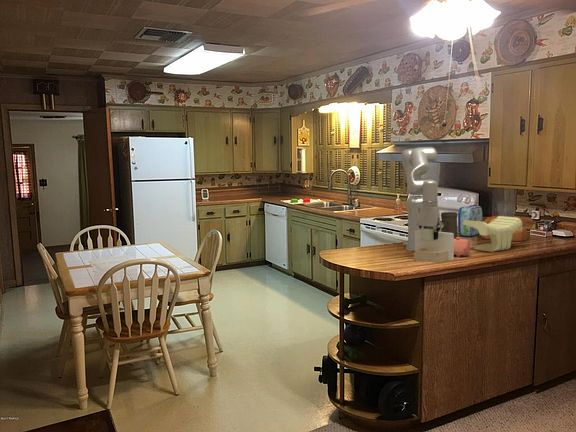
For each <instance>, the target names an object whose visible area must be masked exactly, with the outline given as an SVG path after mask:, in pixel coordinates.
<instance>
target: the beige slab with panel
mask: <svg viewBox="0 0 576 432" xmlns="http://www.w3.org/2000/svg"><path fill="white" fill-rule="evenodd" d="M454 256H455V255H454V233H445V232H441V231H439V240H434V241H425V240H421V230H415V250H414V251H413V260H416V261H423V262H429V263H437V264H438V263H442V262H446V261H454Z"/></svg>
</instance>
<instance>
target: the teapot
mask: <svg viewBox="0 0 576 432" xmlns="http://www.w3.org/2000/svg"><path fill="white" fill-rule="evenodd" d="M471 242H472V240H468V239H464V238H461V236H460V237H459V236H457V237H456V239H454V256H456V258H461V256H462V257H467V255H469V254H470V251H471V249H470V248H471V247H470V246H471V245H470V244H471Z"/></svg>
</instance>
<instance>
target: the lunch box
mask: <svg viewBox="0 0 576 432" xmlns="http://www.w3.org/2000/svg"><path fill="white" fill-rule="evenodd" d="M457 215H458V216H457V233H458V234H459V236H460V237H461V236H462V237H475V236H478V235H480V234H479V231H478V229H475V228H473V227H470V226H467V225H463V220H470V221H480V222H483V209H482V207H481V206H480V205H477V204H471V205H468V206H462V207H461V206H460V207H459V208H458V212H457Z"/></svg>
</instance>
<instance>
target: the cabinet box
mask: <svg viewBox="0 0 576 432" xmlns="http://www.w3.org/2000/svg"><path fill="white" fill-rule="evenodd" d="M434 232H435V231H434V228H433V227H428V226H427V227H426V228H423V229H421V240H425V241H434ZM439 232H440V231H439ZM439 232H438V239H436V240H439Z"/></svg>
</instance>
